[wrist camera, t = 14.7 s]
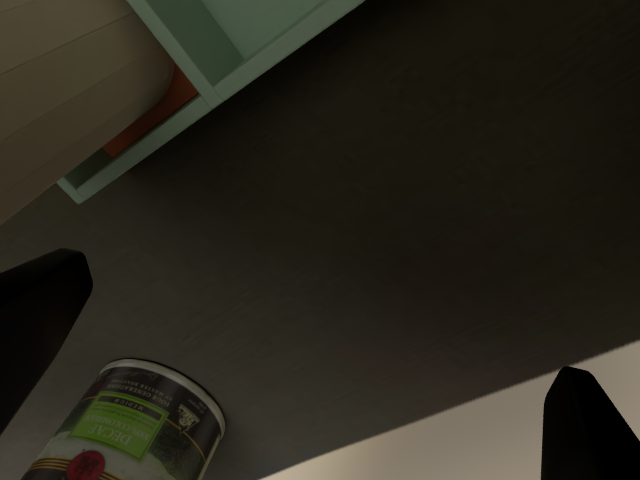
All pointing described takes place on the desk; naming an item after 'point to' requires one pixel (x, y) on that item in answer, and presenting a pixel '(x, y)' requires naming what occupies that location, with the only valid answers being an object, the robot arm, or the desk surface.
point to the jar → (69, 87)
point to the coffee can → (134, 428)
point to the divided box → (204, 69)
